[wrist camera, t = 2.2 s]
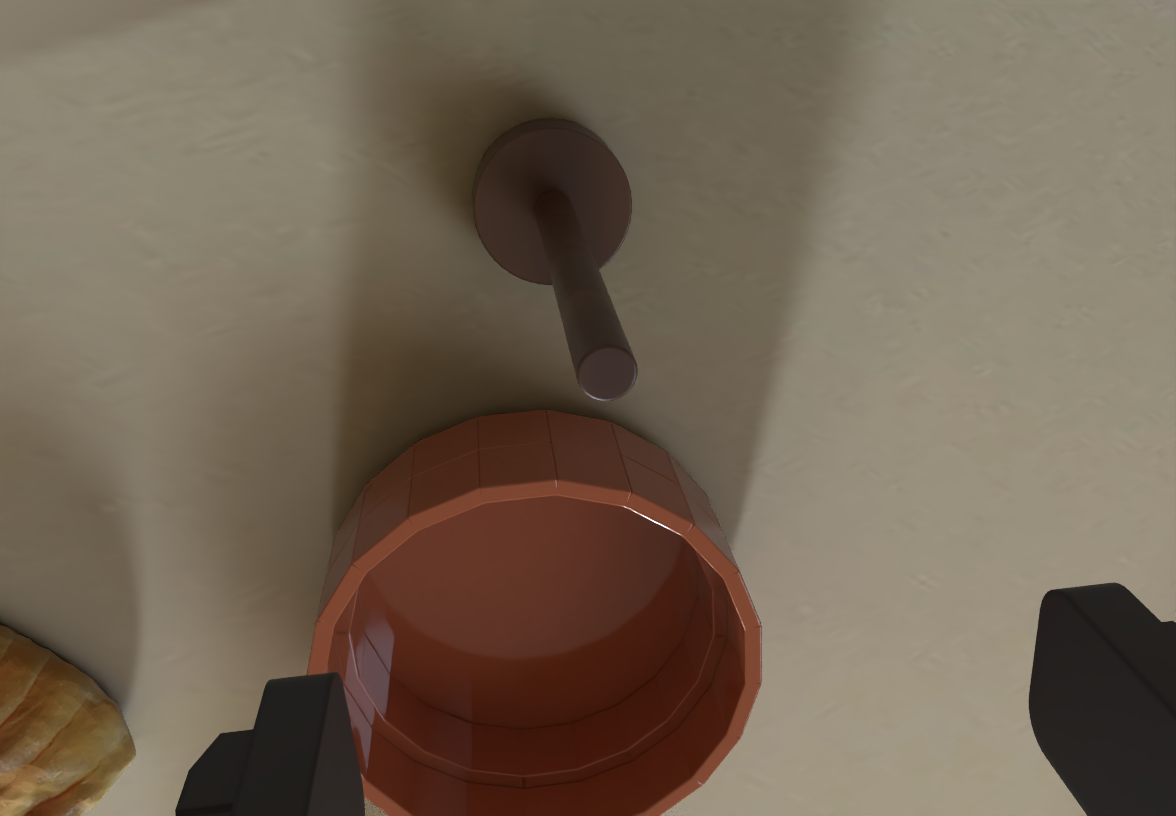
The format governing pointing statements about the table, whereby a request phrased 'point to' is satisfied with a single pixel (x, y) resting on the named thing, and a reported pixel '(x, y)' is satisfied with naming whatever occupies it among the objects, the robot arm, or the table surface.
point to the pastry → (55, 734)
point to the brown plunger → (562, 235)
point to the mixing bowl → (537, 624)
